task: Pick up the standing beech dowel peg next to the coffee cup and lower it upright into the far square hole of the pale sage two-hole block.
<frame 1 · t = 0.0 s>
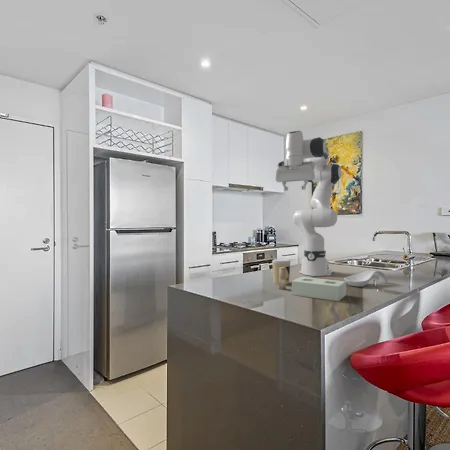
hand: (294, 190, 160), 48 cm above the table, fingers open, 8 cm apart
coffee cup: (281, 283, 162), on the table
peg: (282, 288, 149), on the table
hole block: (318, 294, 137), on the table
spoon rest: (366, 285, 158), on the table
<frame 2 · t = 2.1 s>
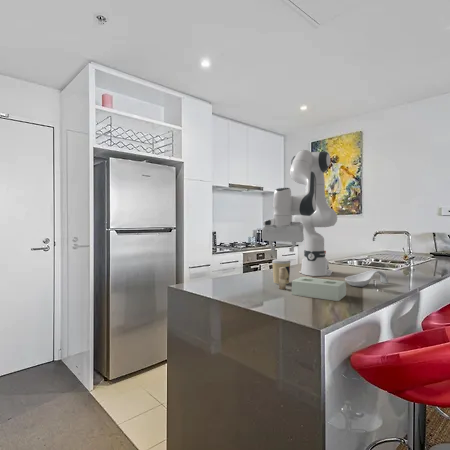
hand: (282, 251, 148), 18 cm above the table, fingers open, 8 cm apart
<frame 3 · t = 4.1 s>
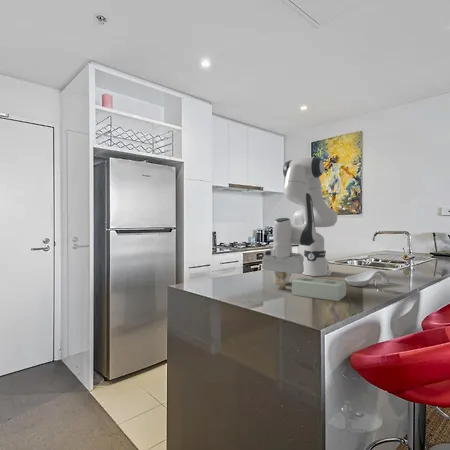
hand: (282, 281, 149), 4 cm above the table, fingers closed on peg, 3 cm apart
peg: (282, 288, 149), on the table, touching gripper
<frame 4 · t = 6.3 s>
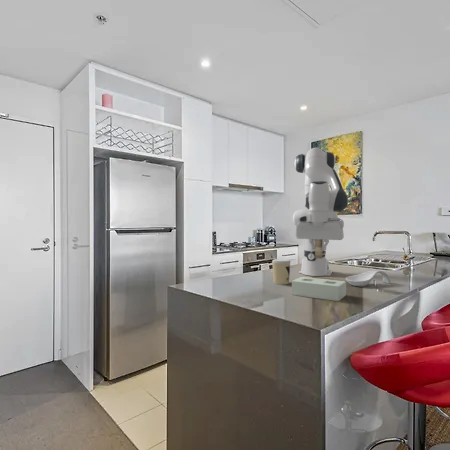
hand: (318, 249, 137), 20 cm above the table, fingers closed on peg, 3 cm apart
peg: (318, 258, 136), point 16 cm above the table, touching gripper
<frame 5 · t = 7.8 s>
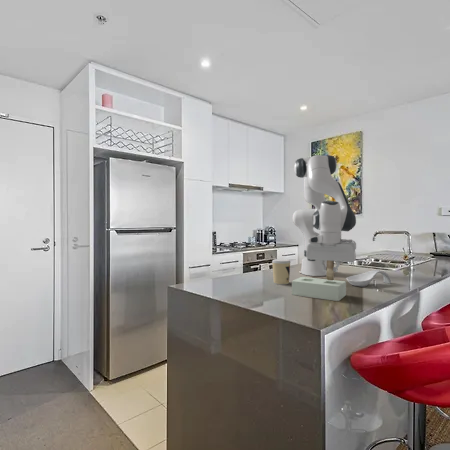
hand: (330, 271, 134), 11 cm above the table, fingers closed on peg, 3 cm apart
peg: (330, 279, 134), point 7 cm above the table, touching gripper
when the fingers open (7 cm above the table, at t = 8.7 s): peg drops 3 cm, resting in hole block.
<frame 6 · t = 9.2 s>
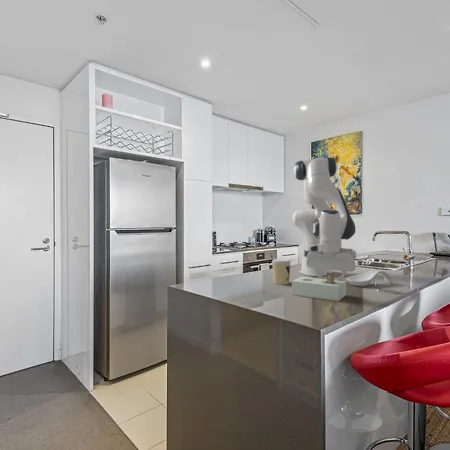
hand: (330, 279, 134), 7 cm above the table, fingers open, 8 cm apart
peg: (330, 296, 134), resting in hole block
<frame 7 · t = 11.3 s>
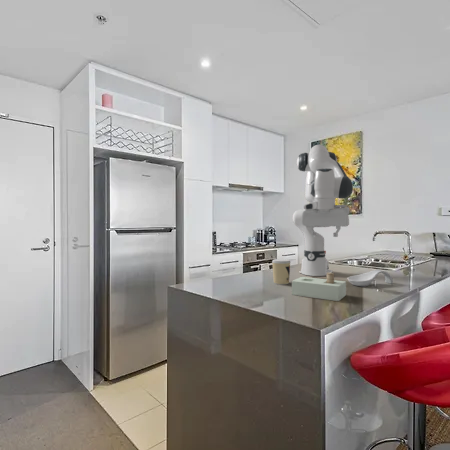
hand: (324, 236, 139), 25 cm above the table, fingers open, 8 cm apart
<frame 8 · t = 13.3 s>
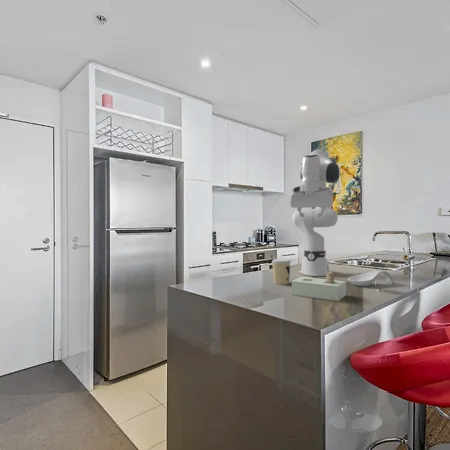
hand: (311, 216, 151), 34 cm above the table, fingers open, 8 cm apart
at the end: peg 0.1 cm from the target spot on the hole block, point 0.0 cm above the hole block's base; peg tilted 0°; the gripper is holding nothing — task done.
